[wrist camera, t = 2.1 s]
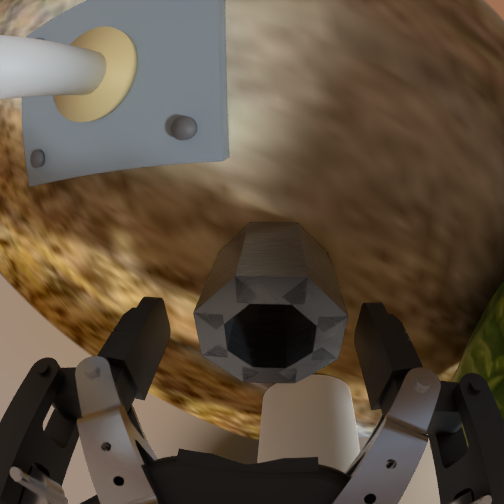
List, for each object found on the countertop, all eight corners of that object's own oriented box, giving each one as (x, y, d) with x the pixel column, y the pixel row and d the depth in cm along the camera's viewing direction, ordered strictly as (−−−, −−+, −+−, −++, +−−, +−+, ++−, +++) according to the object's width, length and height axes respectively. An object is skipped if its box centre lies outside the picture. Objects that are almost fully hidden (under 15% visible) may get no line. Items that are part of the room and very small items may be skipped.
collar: (330, 223, 13) (356, 276, 9) (320, 314, 15) (330, 382, 11) (216, 222, 14) (186, 274, 9) (224, 312, 16) (207, 378, 12)
